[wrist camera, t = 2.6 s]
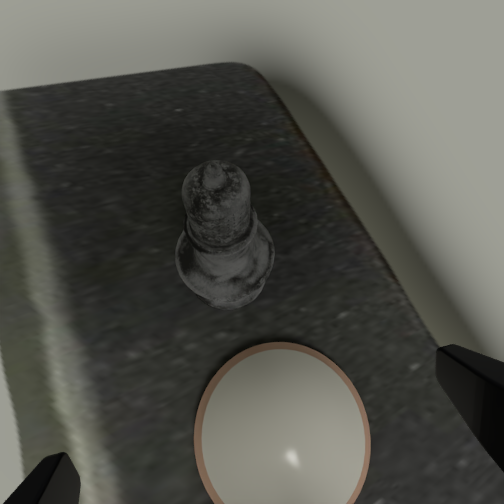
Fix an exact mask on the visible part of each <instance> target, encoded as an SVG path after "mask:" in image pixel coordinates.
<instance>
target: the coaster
mask: <svg viewBox="0 0 504 504" xmlns="http://www.w3.org/2000/svg"><path fill="white" fill-rule="evenodd" d="M370 450H371V439H370V429H369V424H368V419H367V415H366V412H365V409H364V406H363V403H362V401H361V399H360V396H359V394H358V392H357V390H356V389H355V387H354V386H353V384H352V382H351V381H350V380H349V378H348V377H347V376H346V375H345V373H344V372H343V371H342V370H341V369H340V368H339V367H338V366H337V365H336V364H335V363H334V362H332V361H331V360H330V359H328V358H327V357H326V356H324V355H322V354H321V353H319V352H317V351H315V350H313V349H311V348H308V347H306V346H302V345H299V344H295V343H288V342H271V343H264V344H260V345H256V346H253V347H251V348H249V349H246V350H244V351H242V352H241V353H239V354H237V355H235V356H234V357H233V358H231V359H230V360H229V361H228V362H226V363H225V364H224V365H223V366H222V367H221V368H220V369H219V370H218V372H217V373H216V374H215V376H214V377H213V378H212V380H211V381H210V383H209V385H208V386H207V388H206V390H205V392H204V394H203V396H202V399H201V401H200V404H199V408H198V411H197V415H196V421H195V428H194V451H195V457H196V463H197V467H198V470H199V474H200V477H201V480H202V482H203V484H204V486H205V489H206V491H207V492H208V494H209V496H210V498H211V499H212V501H213V502H214V504H354V502H355V501H356V499H357V497H358V495H359V493H360V491H361V489H362V487H363V484H364V481H365V479H366V475H367V471H368V467H369V460H370Z"/></svg>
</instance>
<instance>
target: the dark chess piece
mask: <svg viewBox="0 0 504 504" xmlns="http://www.w3.org/2000/svg"><path fill="white" fill-rule="evenodd" d="M250 196H251V191H250V184H249V181H248V179H247V177H246V175H245V173H244V172H243V171H242V170H241V169H240V168H239V167H237V166H236V165H235V164H232V163H230V162H227V161H221V160H212V161H208V162H204V163H202V164H200V165H198V166H197V167H195V168H194V169H193V170H192V171H190V172H189V173H188V175H187V176H186V178H185V180H184V183H183V186H182V200H183V204H184V207H185V210H186V215H185V218H184V230H183V232H182V234H181V235H180V237H179V239H178V242H177V246H176V250H175V263H176V266H177V269H178V272H179V275H180V277H181V278H182V280H183V281H184V283H185V284H186V285H187V286H188V287H189V288H190V289H191V290H192V291H194V292H195V294H196V295H197V296H198V298H199V299H200V300H202V301H203V302H204V303H205V304H207V305H209V306H211V307H214V308H216V309H222V310H232V309H238V308H240V307H243V306H246V305H247V304H249V303H250V302H252V301H253V300H254V299H255V298H256V297H257V296H258V295H259V293H260V292H261V291H262V288H263V286H264V284H265V281H266V280H267V278H268V277H269V275H270V272H271V270H272V268H273V264H274V257H275V251H274V244H273V240H272V238H271V236H270V234H269V231H268V230H267V229H266V228H265V226H264V225H263V224H262V223H261V222H260V221H259V220H257V214H256V212H255V209H254V207H253V206H252V204H251V203H250Z"/></svg>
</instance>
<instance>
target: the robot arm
mask: <svg viewBox="0 0 504 504" xmlns="http://www.w3.org/2000/svg"><path fill="white" fill-rule="evenodd" d="M435 375H436V378H437V381H438V383H439V384H440V386H441V387H442V389H443V390H444V392H445V393H446V395H447V396H448V398H449V399H450V401H451V402H452V404H453V405H454V407H455V408H456V409H457V411H458V412H459V414H460V415H461V417H462V418H463V420H464V421H465V423H466V424H467V426H468V427H469V429H470V430H471V431H472V433H473V434H474V436H475V437H476V438H477V440H478V441H479V442H480V444H481V445H482V446H483V447H484V449H485V450H486V451H487V452H488V454H489V455H490V456H491V457H492V459H493V460H494V461H495V462H496V463H497V465H498V466H499V467H500V468H501V470H502V471H503V472H504V362H501V361H499V360H496V359H493V358H491V357H488V356H485V355H482V354H480V353H477V352H474V351H472V350H469V349H466V348H464V347H461V346H458V345H455V344H450V345H447V346H443V347H440V348H438V349H437V351H436V366H435ZM80 486H81V482H80V477H79V474H78V472H77V470H76V468H75V467H74V465H73V463H72V461H71V459H70V457H69V456H68V454H67V453H65V452H61V453H57V454H53V455H50V456H47V457H45V458H44V459H43V460H42V461H41V462H40V463H39V464H38V465H37V466H36V467H35V468H34V469H33V471H32V472H31V473H30V474H29V475H28V476H27V477H26V478H25V480H24V481H23V482H22V483H21V484H20V485H19V486H18V487H17V489H16V490H15V491H14V492H13V493H12V494H11V495H10V497H9V498H8V499H7V500H6V501H5V502H4V503H3V504H78V502H79V495H80Z"/></svg>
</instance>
